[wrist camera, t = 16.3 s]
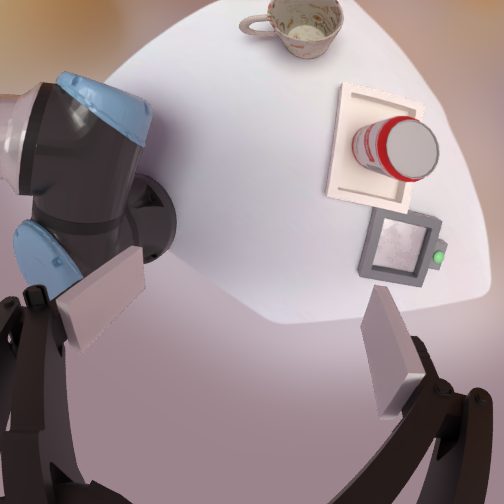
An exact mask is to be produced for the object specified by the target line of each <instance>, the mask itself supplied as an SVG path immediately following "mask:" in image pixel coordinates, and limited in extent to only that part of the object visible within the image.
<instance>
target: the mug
mask: <svg viewBox="0 0 504 504" xmlns="http://www.w3.org/2000/svg"><path fill="white" fill-rule="evenodd" d="M343 20H344V15H343V10H342V8H341V6H340V4H339V3H338V1H337V0H271V1H270V4H269V6H268V14H267V15H256V16H250V17H248V18H246V19H244V20H243V21H241V22H240V24H239V29H240V30H241V31H242V32H244V33H246V34H249V35H255V36H261V37H269V36H278V35H279V37H280V38H281V39H282V41H283V42H284V44H285V45H286V47H287V48H288V50H289V51H290V52H291V53H292V54H294V55H296V56H298V57H300V58H305V59H312V58H316V57H319V56H320V55H322V54H323V53H324V52H325V51H326V50H327V48H328V47H329V45H330V44H331V42H332V41H333V39H334V38H335V36H336V35H337V33H338V32H339V30H340V29H341V27H342V24H343ZM260 21H270V23H271V25H272V27H273V28H274V29H275V31H276V32H266V31H256V30H253V29H250V28H249V25H250V24H252V23H254V22H260Z"/></svg>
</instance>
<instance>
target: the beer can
mask: <svg viewBox="0 0 504 504" xmlns="http://www.w3.org/2000/svg"><path fill="white" fill-rule="evenodd" d="M352 152H353V155H354V157H355V159H356V160H357V161H358V163H359V164H360V165H361V166H363V167H364V168H366V169H368V170H371V171H374V172H377V173H379V174H382V175H385V176H387V177H390V178H393V179H395V180H398V181H401V182H416V181H418V180H421V179H423V178H425V177H426V176H428V175H429V174H430V173H431V172H433V171H434V169H435V167H436V165H437V164H438V160H439V155H440V154H439V144H438V142H437V139H436V136H435V135H434V133H433V132H432V131H431V129H430V128H429V127H427V126H426V125H425V124H424V123H422V122H420V121H419V120H418V119H415V118H412V117H410V116H395V117H392V118H388V119H385V120H382V121H379V122H376V123H373V124H370V125H367V126H365V127H362V128H361V129H360V130H358V131H357V132H356V134H355V136H354V137H353V141H352Z"/></svg>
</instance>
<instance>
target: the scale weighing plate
mask: <svg viewBox="0 0 504 504" xmlns="http://www.w3.org/2000/svg"><path fill="white" fill-rule="evenodd" d="M425 232H426V227H424V226H420V225H416V224H412V223H408V222H403V221H399V220H395V219H391V218H386V217H385V219H384V223H383V227H382V231H381V235H380V239H379V243H378V247H377V251H376V254H375V258H374V261H373V265H378V266H384V267H389V268H394V269H400V270H405V271H410V272H413V271H414V268H415V265H416V262H417V259H418V256H419V253H420V249H421V246H422V243H423V239H424V236H425Z"/></svg>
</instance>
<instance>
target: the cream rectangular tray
mask: <svg viewBox="0 0 504 504" xmlns="http://www.w3.org/2000/svg"><path fill="white" fill-rule="evenodd" d="M424 106H425V104H422V103H419V102H416V101H413V100H410V99H407V98H404V97H401V96H397V95H394V94H391V93H387V92H384V91H380V90H376V89H372V88H368V87H364V86H360V85H356V84H351V83H346V82H342V84H341V86H340V90H339V100H338V108H337V117H336V125H335V132H334V139H333V147H332V153H331V160H330V167H329V173H328V179H327V185H326V191H325V193H326V196H327V197H330V198H335V199H340V200H345V201H350V202H355V203H360V204H364V205H369V206H374V207H378V208H383V209H387V210H391V211H395V212H400V213H404V214H407V213H408V208H409V204H410V199H411V195H412V190H413V185H414V182H401V181H398V180H395V179H393V178H390V177H387V176H385V175H382V174H379V173H377V172H374V171H371V170H368V169H366V168H364V167H363V166H361V165H360V164H359V163H358V161H357V160H356V159H355V157H354V155H353V152H352V141H353V137H354V136H355V134H356V132H357V131H358V130H360V129H361V128H362V127H365V126H367V125H370V124H373V123H376V122H379V121H382V120H385V119H388V118H392V117H395V116H410V117H412V118H415V119H418V120H419V121H420V122H422V123H423V117H424Z"/></svg>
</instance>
